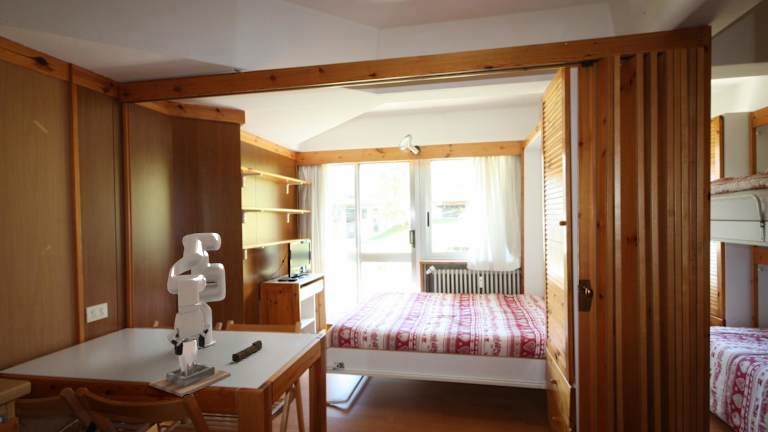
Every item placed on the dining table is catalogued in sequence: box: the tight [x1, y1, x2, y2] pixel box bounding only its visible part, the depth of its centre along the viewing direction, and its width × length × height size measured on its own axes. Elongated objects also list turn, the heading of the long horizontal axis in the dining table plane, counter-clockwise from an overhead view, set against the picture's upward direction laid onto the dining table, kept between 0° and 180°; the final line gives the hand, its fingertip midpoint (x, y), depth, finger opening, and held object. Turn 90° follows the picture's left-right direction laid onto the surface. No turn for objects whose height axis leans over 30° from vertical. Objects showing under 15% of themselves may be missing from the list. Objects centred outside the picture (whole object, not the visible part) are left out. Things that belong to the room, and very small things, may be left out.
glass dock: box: [149, 361, 231, 398], centre depth 143 cm, size 22×20×4 cm
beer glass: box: [177, 338, 199, 377], centre depth 142 cm, size 7×7×15 cm
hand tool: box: [231, 339, 263, 363], centre depth 170 cm, size 19×4×5 cm, turn 159°
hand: (190, 350), depth 144 cm, fingers open, 9 cm apart
